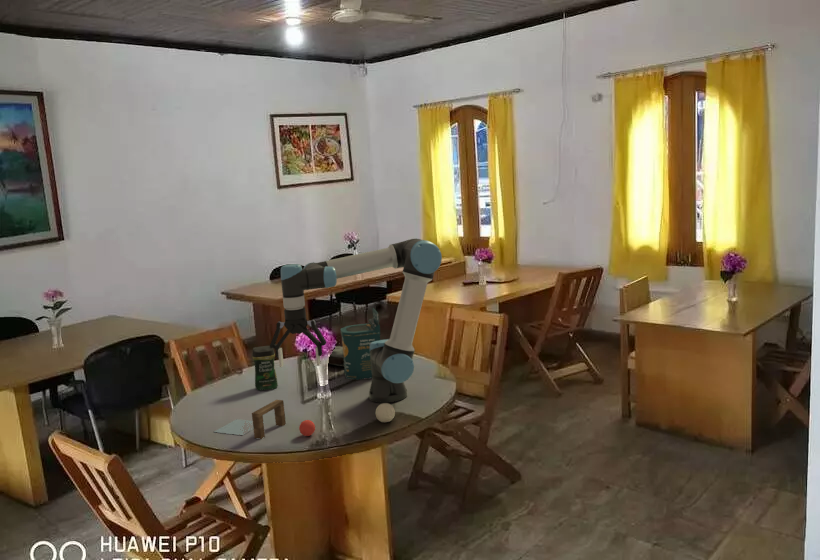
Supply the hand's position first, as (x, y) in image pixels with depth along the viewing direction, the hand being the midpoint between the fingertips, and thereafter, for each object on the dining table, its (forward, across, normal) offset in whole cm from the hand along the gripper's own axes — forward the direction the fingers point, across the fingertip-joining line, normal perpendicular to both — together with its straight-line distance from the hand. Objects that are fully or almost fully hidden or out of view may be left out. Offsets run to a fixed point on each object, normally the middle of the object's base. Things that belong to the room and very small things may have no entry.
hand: (300, 365), depth 253 cm
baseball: (+22, -30, +2) cm, 37 cm away
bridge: (+22, +11, +7) cm, 26 cm away
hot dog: (+22, +1, -75) cm, 78 cm away
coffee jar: (+22, +27, -44) cm, 57 cm away
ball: (+19, -4, +12) cm, 23 cm away
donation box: (+22, -13, -59) cm, 64 cm away
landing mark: (+22, +24, +2) cm, 33 cm away
